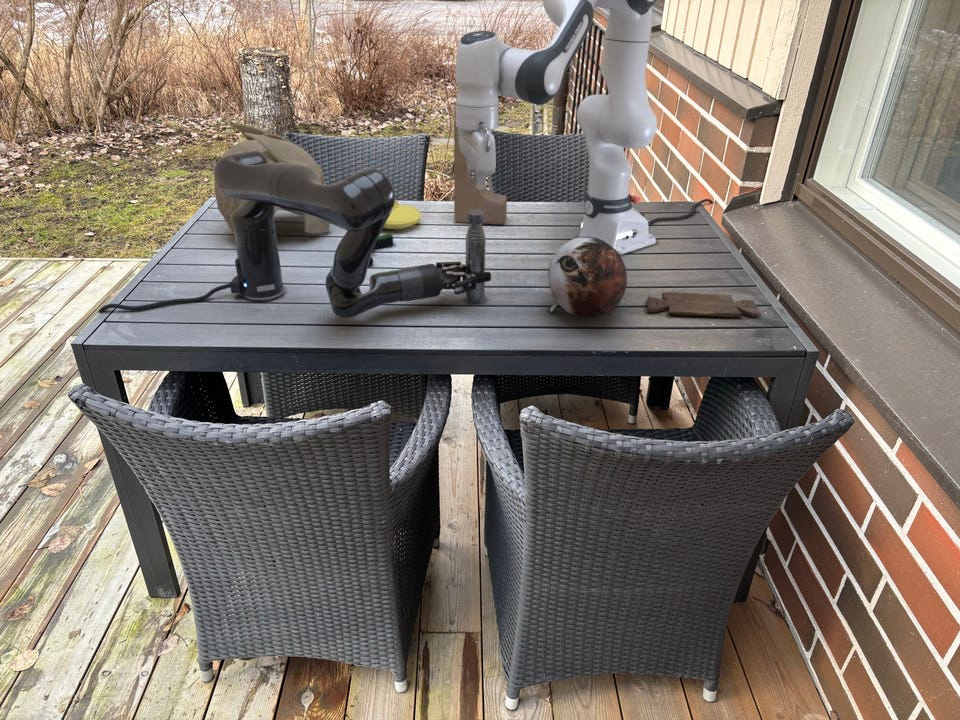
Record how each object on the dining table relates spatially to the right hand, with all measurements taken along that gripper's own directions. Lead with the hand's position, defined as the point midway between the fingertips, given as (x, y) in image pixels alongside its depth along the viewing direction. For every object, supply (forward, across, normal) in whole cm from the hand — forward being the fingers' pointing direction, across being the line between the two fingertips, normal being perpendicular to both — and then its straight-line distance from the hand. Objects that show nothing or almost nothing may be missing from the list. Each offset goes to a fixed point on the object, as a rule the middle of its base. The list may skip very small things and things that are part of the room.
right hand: (476, 183), depth 155 cm
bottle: (+28, 0, 0) cm, 28 cm away
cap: (+7, 0, 0) cm, 7 cm away
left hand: (+21, 0, -3) cm, 21 cm away
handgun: (+28, +32, +22) cm, 48 cm away
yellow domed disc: (+28, +54, +12) cm, 62 cm away
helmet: (+28, +54, +46) cm, 76 cm away
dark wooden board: (+28, -15, -51) cm, 60 cm away
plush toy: (+28, -11, -23) cm, 38 cm away
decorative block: (+28, +53, -14) cm, 62 cm away
